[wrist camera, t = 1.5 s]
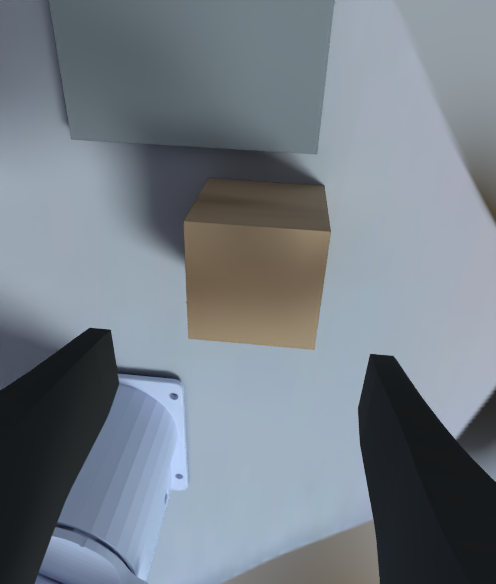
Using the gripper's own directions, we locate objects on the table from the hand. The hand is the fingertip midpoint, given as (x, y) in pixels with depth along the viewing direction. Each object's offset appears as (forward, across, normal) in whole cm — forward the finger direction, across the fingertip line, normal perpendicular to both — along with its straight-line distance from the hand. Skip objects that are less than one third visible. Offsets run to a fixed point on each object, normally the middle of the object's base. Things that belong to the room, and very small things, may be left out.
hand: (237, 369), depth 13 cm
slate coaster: (+10, +3, -9) cm, 13 cm away
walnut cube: (+10, 0, 0) cm, 10 cm away
